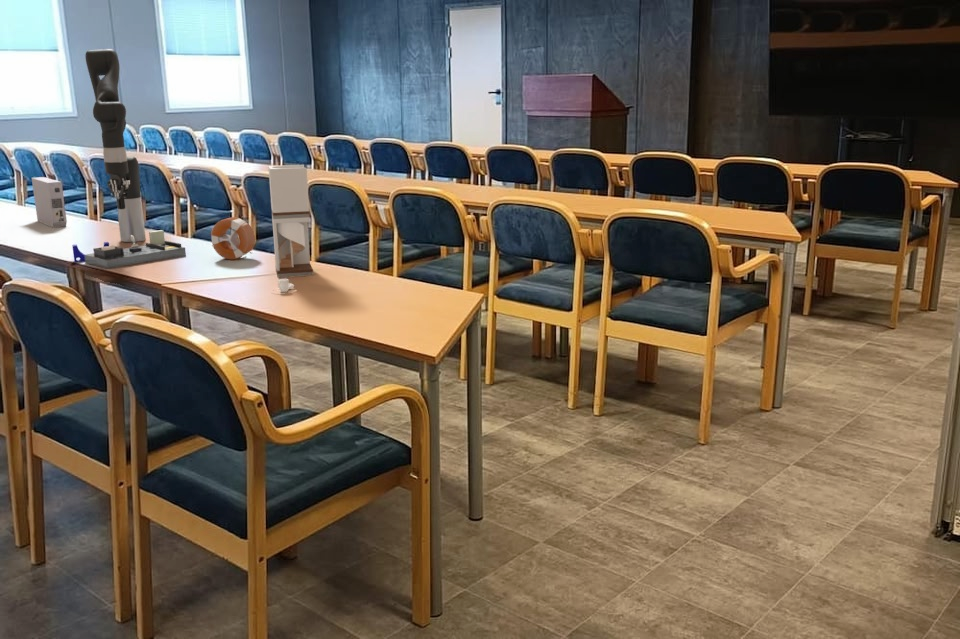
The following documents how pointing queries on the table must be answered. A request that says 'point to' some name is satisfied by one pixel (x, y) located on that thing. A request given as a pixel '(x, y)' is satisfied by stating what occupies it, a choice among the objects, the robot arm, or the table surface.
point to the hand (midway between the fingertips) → (121, 208)
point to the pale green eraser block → (157, 237)
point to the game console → (49, 201)
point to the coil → (232, 238)
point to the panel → (134, 255)
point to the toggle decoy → (133, 242)
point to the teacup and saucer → (285, 285)
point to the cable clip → (79, 254)
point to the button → (108, 247)
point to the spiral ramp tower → (290, 219)
